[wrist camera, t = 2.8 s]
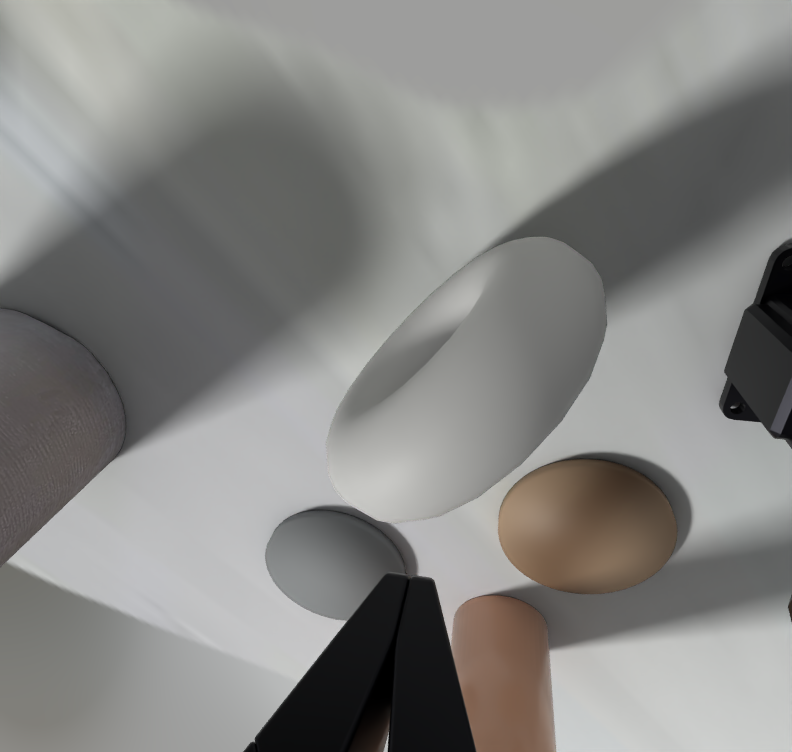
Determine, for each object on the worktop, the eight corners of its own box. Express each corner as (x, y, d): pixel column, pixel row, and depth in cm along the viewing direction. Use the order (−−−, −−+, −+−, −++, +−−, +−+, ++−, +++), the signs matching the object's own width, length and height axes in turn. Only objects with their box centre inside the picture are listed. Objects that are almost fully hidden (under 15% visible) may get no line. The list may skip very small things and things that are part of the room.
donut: (408, 412, 23) (349, 607, 15) (350, 359, 22) (251, 531, 14) (604, 256, 18) (687, 406, 10) (539, 183, 18) (566, 276, 9)
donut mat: (694, 470, 22) (698, 479, 21) (651, 594, 26) (654, 605, 25) (507, 449, 23) (507, 457, 23) (491, 571, 27) (491, 580, 26)
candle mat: (406, 521, 26) (404, 530, 26) (404, 621, 30) (403, 630, 29) (261, 501, 27) (257, 509, 27) (277, 599, 31) (273, 608, 31)
